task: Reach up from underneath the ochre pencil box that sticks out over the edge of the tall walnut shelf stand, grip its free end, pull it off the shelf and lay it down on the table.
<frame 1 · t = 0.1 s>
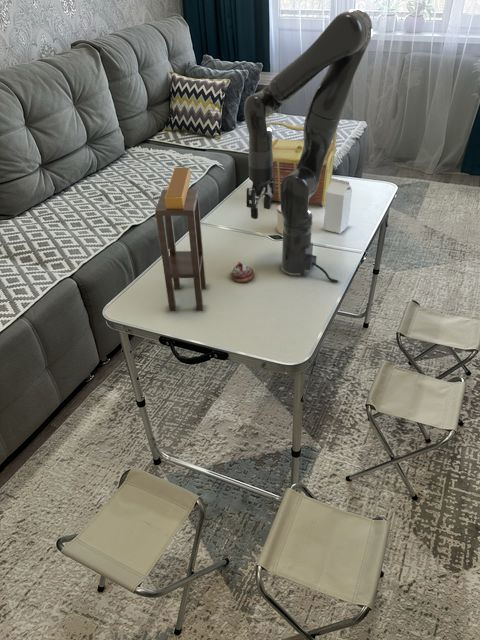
hand: (260, 213, 166), 17 cm above the table, tool pointing down, fingers open, 8 cm apart
stand: (188, 297, 159), on the table
pastry: (242, 277, 169), on the table
picnic basket: (297, 197, 219), on the table
milk carton: (335, 228, 196), on the table
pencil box: (179, 192, 142), point 32 cm above the table, touching stand
teacup with lid: (290, 229, 196), on the table
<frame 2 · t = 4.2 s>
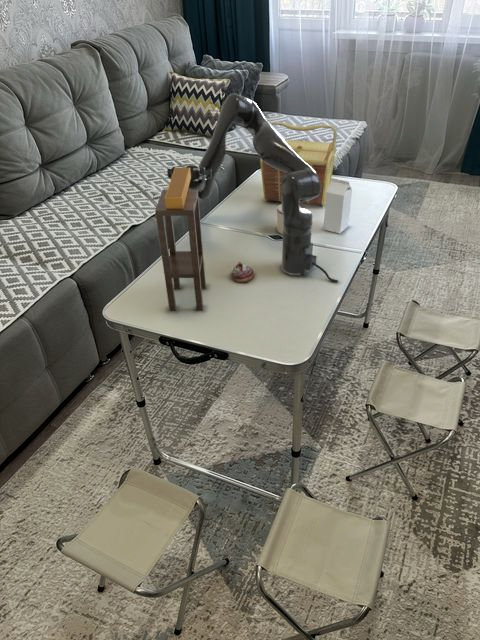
hand: (187, 170, 160), 31 cm above the table, tool pointing upward, fingers open, 8 cm apart
nothing on the table moved.
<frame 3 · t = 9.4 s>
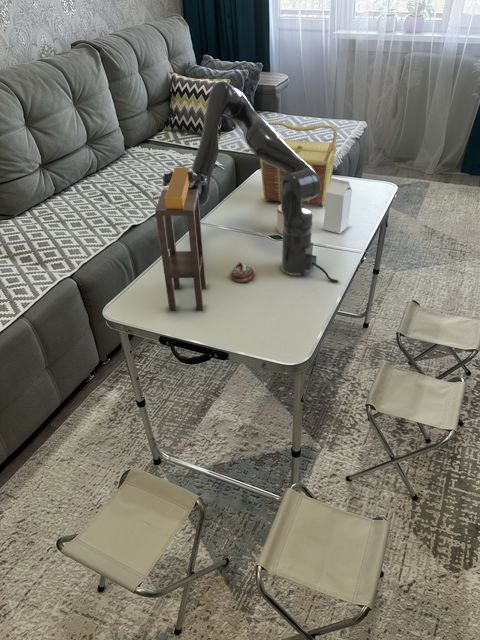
hand: (180, 175, 145), 35 cm above the table, tool pointing upward, fingers closed on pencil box, 4 cm apart
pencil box: (179, 192, 142), point 32 cm above the table, touching gripper, stand
everything else where it was.
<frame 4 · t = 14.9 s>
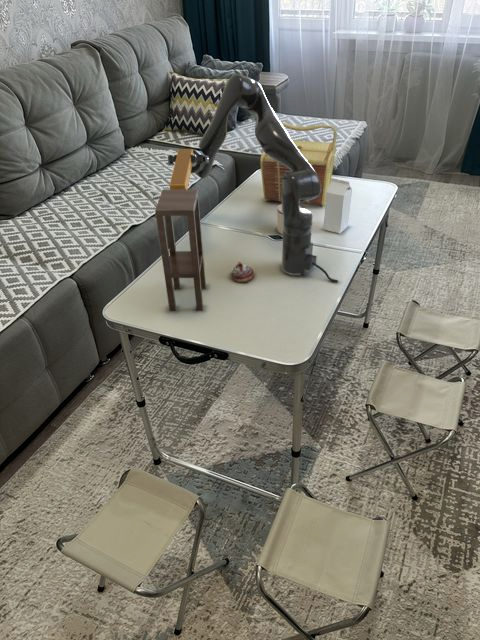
hand: (183, 158, 157), 34 cm above the table, tool pointing upward, fingers closed on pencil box, 4 cm apart
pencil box: (182, 175, 155), point 31 cm above the table, tilted 8°, touching gripper
everything else where it was.
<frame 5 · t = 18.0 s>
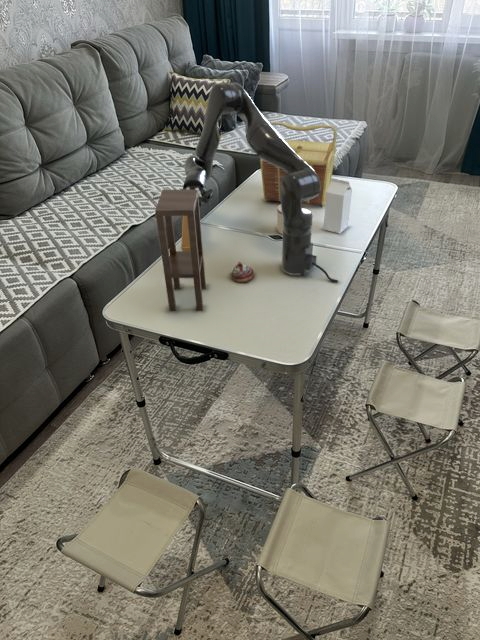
hand: (190, 205, 167), 19 cm above the table, tool horizontal, fingers closed on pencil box, 4 cm apart
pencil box: (190, 223, 167), point 14 cm above the table, tilted 30°, touching gripper
everything else where it was.
when the fingers open (11 cm above the table, at t = 20.7 s): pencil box drops 5 cm, on the table.
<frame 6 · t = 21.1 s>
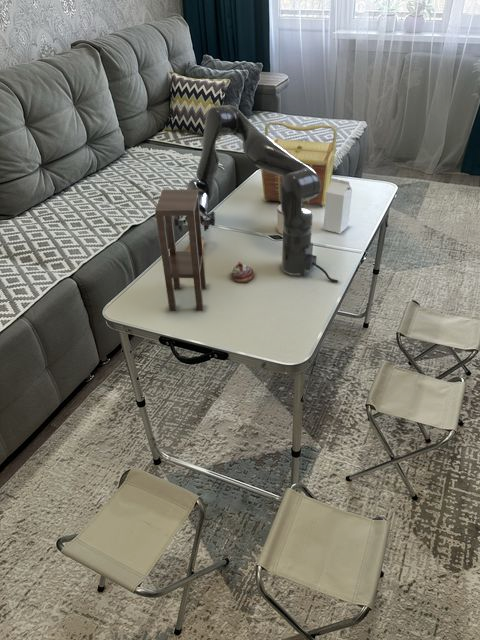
hand: (193, 228, 173), 11 cm above the table, tool horizontal, fingers open, 8 cm apart
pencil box: (194, 259, 178), on the table
everything else where it was.
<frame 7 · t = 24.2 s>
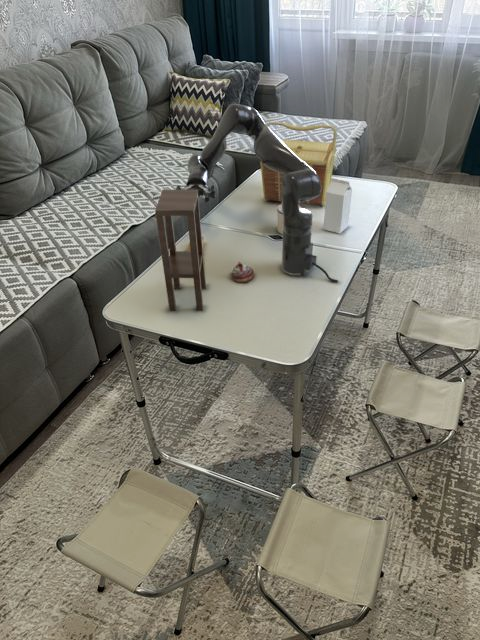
hand: (193, 200, 177), 16 cm above the table, tool horizontal, fingers open, 8 cm apart
nothing on the table moved.
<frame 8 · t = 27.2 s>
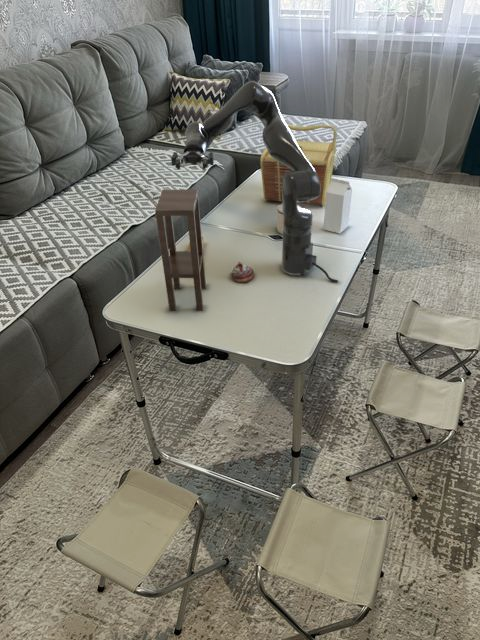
hand: (191, 166, 169), 28 cm above the table, tool horizontal, fingers open, 8 cm apart
nothing on the table moved.
at the end: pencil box inside the target area (0.7 cm from its centre), on the table; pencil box touching table; the gripper is holding nothing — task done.
